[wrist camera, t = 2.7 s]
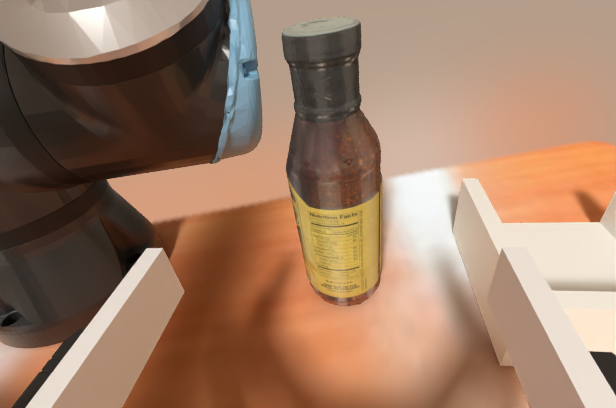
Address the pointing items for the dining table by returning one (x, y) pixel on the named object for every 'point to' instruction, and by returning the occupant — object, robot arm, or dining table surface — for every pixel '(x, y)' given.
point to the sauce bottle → (333, 162)
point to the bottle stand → (544, 264)
